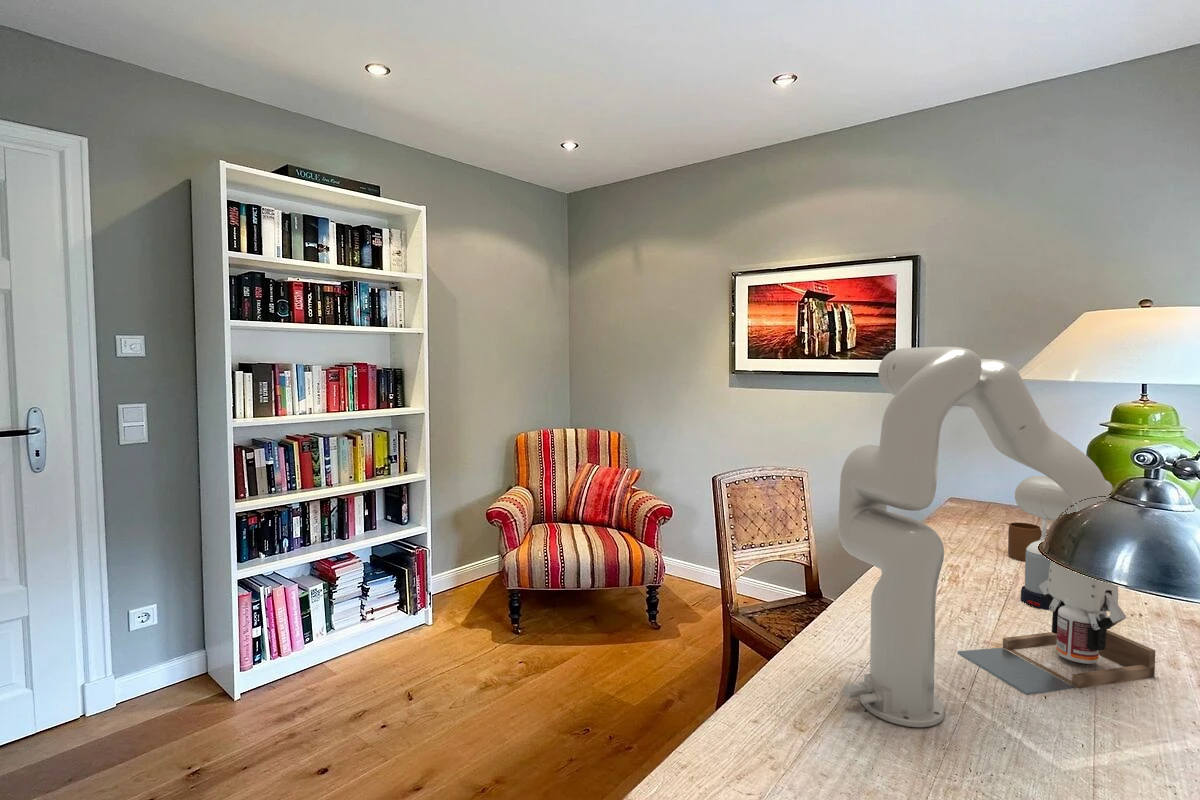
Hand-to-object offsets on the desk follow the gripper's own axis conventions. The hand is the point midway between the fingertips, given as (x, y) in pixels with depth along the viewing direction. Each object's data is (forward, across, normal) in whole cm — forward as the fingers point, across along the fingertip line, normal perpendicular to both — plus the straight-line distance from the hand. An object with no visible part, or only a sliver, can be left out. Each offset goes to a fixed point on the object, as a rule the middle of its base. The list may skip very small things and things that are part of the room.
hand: (1077, 640), depth 113 cm
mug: (+4, +52, -46) cm, 69 cm away
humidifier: (+5, +26, -20) cm, 34 cm away
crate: (+5, 0, 0) cm, 5 cm away
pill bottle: (+3, 0, 0) cm, 3 cm away
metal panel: (+4, 0, +9) cm, 10 cm away
